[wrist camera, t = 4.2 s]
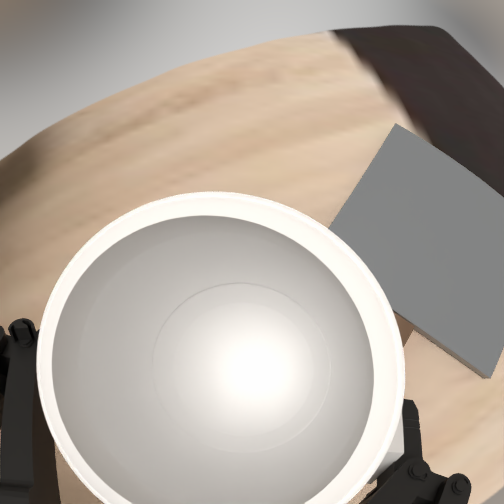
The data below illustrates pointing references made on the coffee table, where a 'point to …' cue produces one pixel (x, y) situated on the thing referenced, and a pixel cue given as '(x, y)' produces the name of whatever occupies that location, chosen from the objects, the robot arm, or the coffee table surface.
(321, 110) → the coffee table surface
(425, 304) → the board
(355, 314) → the jar
